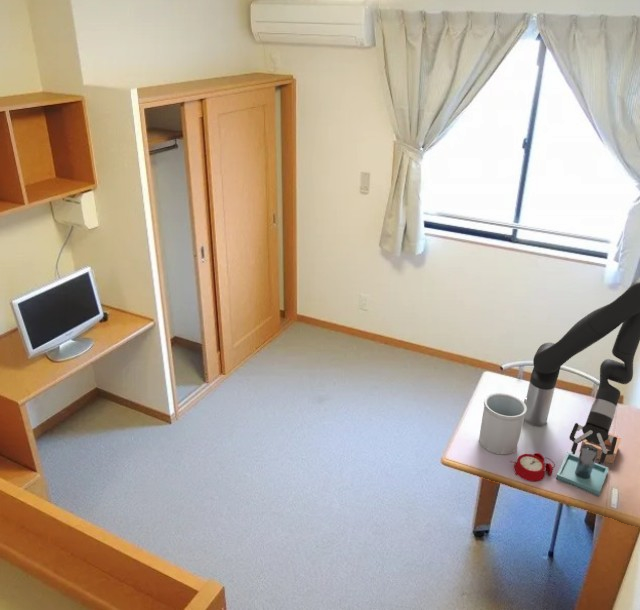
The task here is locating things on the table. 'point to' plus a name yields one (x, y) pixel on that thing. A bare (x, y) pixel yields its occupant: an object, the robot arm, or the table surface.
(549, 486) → the table surface
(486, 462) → the table surface
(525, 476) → the alarm clock
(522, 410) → the utensil holder
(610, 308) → the robot arm
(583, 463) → the canister
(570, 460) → the teal tray
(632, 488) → the table surface
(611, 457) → the light orange open box
